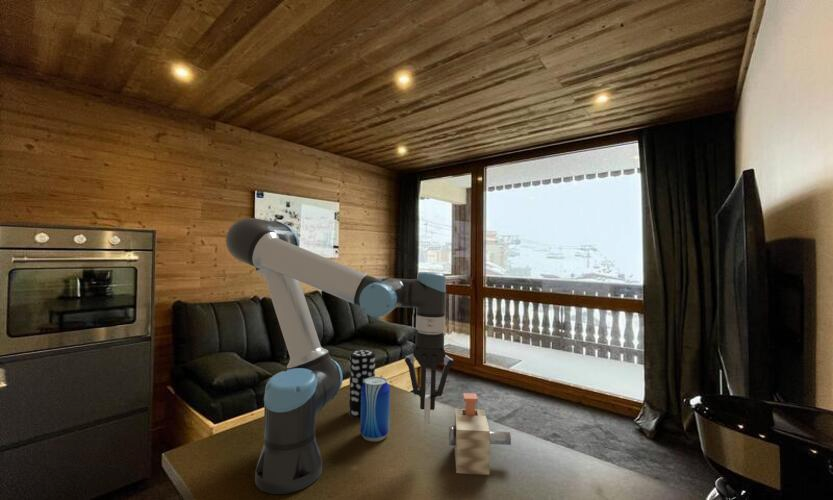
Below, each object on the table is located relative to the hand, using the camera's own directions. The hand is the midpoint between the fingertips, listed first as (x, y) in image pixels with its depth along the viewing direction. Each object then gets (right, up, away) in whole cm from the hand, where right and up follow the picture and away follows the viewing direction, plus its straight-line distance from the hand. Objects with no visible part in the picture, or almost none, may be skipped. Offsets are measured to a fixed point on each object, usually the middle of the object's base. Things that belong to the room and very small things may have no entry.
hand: (426, 421), depth 94 cm
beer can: (-15, -10, +11) cm, 21 cm away
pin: (+13, -6, -1) cm, 15 cm away
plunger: (+12, -2, +3) cm, 12 cm away
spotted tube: (-21, -10, +25) cm, 34 cm away
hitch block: (+11, -10, -1) cm, 15 cm away
